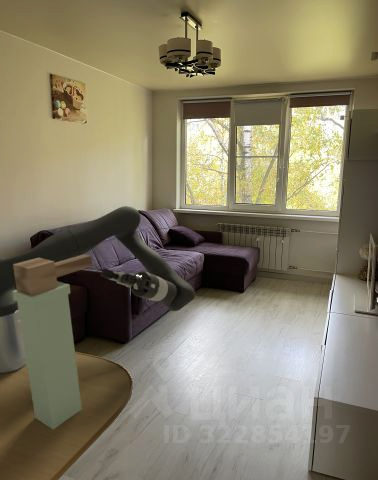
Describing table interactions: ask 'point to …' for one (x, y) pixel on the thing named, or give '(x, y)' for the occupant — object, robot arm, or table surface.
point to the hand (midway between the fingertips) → (113, 274)
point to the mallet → (45, 273)
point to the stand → (50, 354)
